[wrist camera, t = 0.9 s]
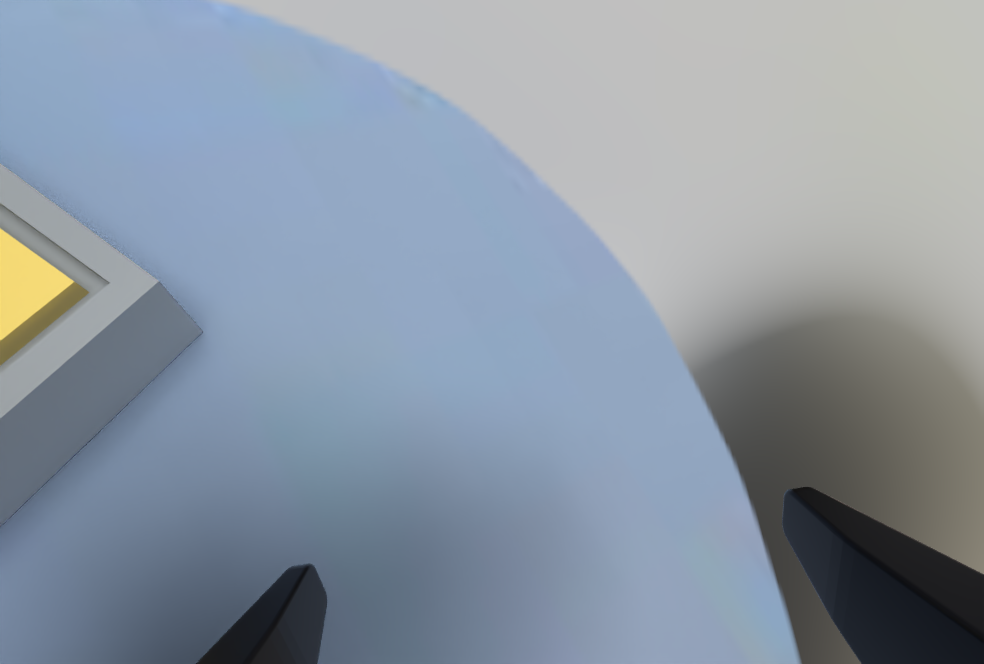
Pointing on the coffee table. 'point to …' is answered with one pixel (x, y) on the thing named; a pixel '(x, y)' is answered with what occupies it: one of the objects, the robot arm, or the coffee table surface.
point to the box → (77, 345)
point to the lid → (29, 295)
